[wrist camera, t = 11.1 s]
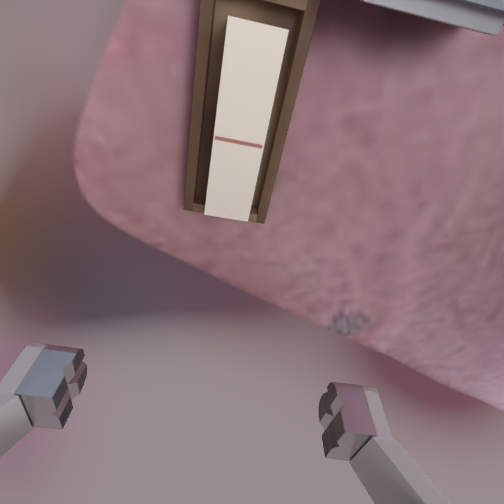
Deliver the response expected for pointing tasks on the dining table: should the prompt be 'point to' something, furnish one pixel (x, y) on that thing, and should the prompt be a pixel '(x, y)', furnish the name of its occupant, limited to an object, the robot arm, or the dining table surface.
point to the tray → (208, 81)
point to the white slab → (243, 114)
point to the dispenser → (453, 12)
